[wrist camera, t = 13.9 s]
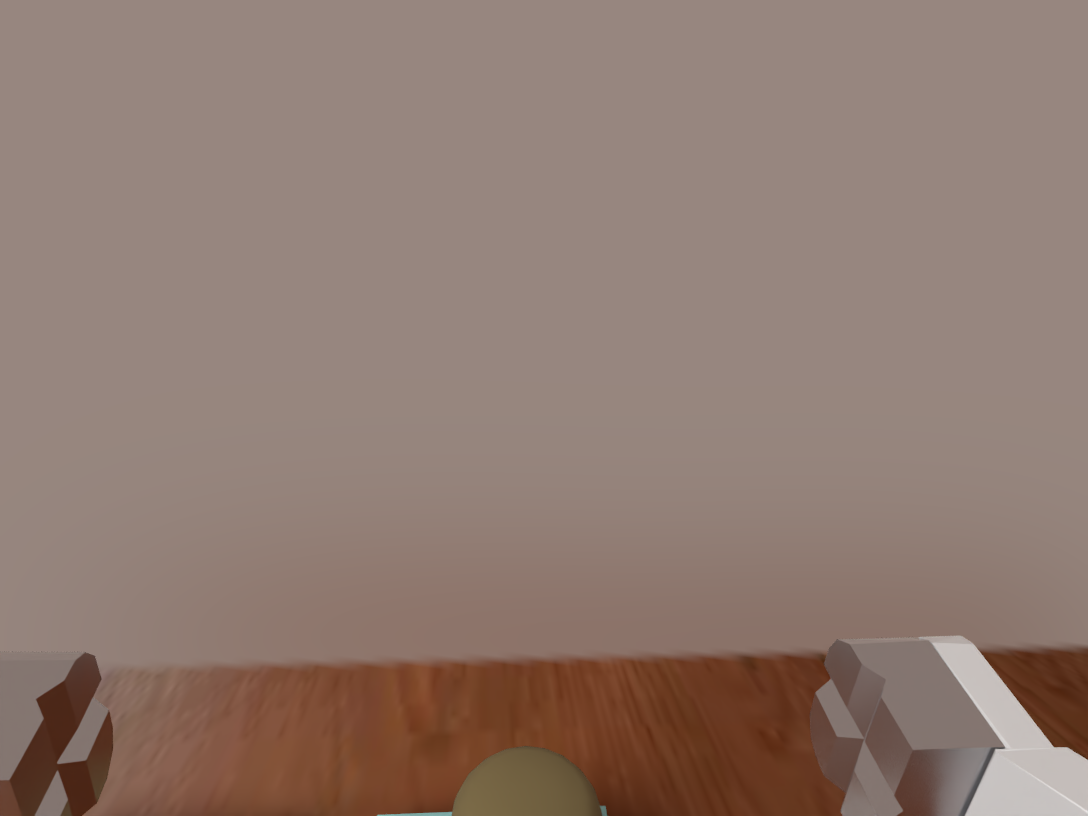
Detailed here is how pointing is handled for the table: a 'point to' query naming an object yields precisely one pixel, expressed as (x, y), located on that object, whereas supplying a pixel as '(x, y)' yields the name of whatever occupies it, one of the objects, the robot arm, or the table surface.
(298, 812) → the table surface
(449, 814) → the teal socket
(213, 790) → the table surface
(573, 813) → the olive pawn
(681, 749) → the table surface
